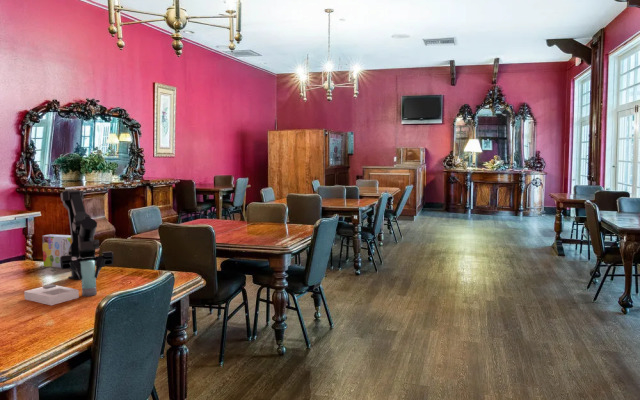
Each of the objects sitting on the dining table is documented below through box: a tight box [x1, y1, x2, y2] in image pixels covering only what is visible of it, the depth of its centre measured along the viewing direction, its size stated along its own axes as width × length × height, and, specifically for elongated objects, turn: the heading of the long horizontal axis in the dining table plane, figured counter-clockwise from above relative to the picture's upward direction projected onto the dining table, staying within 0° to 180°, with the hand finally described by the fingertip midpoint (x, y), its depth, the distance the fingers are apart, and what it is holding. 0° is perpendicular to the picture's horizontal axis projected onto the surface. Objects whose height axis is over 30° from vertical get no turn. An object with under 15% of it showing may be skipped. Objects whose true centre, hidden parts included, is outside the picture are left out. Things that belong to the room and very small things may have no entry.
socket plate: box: [23, 284, 80, 306], centre depth 191 cm, size 16×11×4 cm
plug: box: [80, 260, 98, 297], centre depth 195 cm, size 5×5×13 cm
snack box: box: [41, 233, 72, 269], centre depth 242 cm, size 21×6×15 cm, turn 71°
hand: (88, 278), depth 194 cm, fingers closed on plug, 5 cm apart
